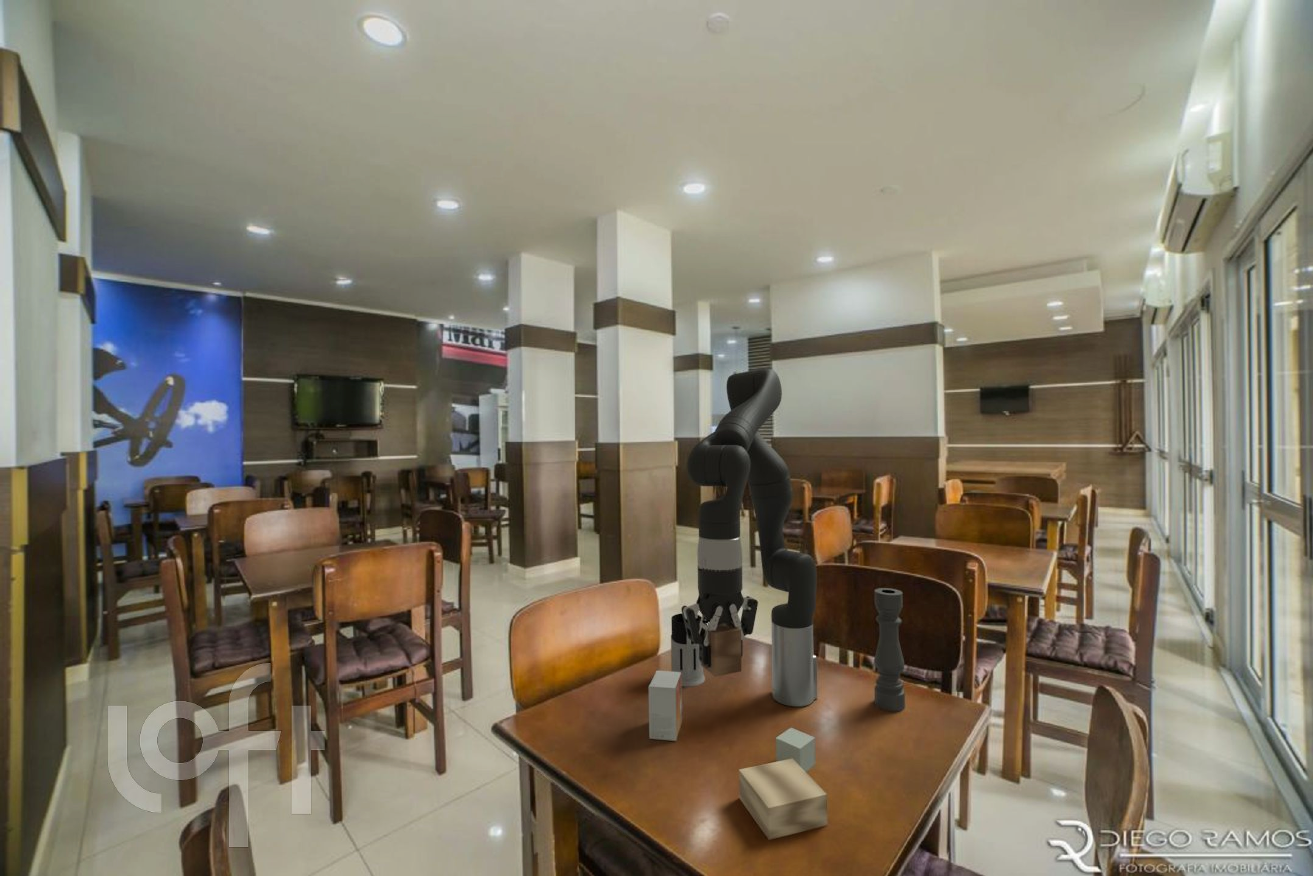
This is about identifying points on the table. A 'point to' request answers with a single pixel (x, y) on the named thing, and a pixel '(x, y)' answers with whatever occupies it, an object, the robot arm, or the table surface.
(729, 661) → the walnut block
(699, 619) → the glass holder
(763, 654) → the table surface
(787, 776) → the oak block
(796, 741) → the grey cube
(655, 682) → the small box
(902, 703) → the candle holder
